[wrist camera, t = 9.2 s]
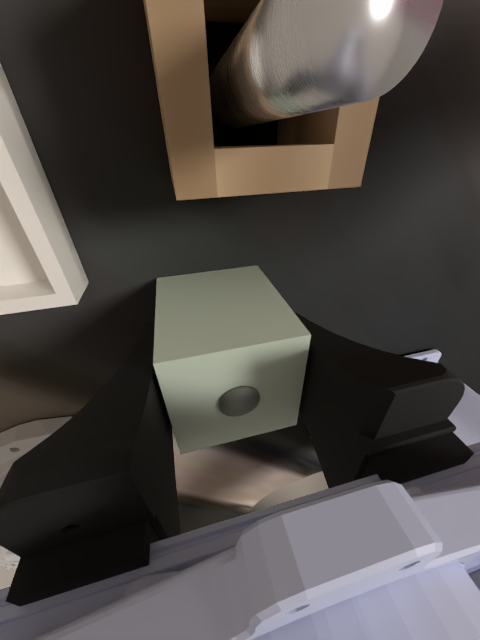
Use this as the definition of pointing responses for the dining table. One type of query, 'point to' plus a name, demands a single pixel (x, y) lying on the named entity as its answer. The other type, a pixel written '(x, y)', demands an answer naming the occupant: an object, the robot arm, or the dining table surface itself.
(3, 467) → the mechanical component
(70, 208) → the dining table surface
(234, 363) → the green block
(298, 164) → the wooden square holder
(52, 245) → the tray
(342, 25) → the pin
